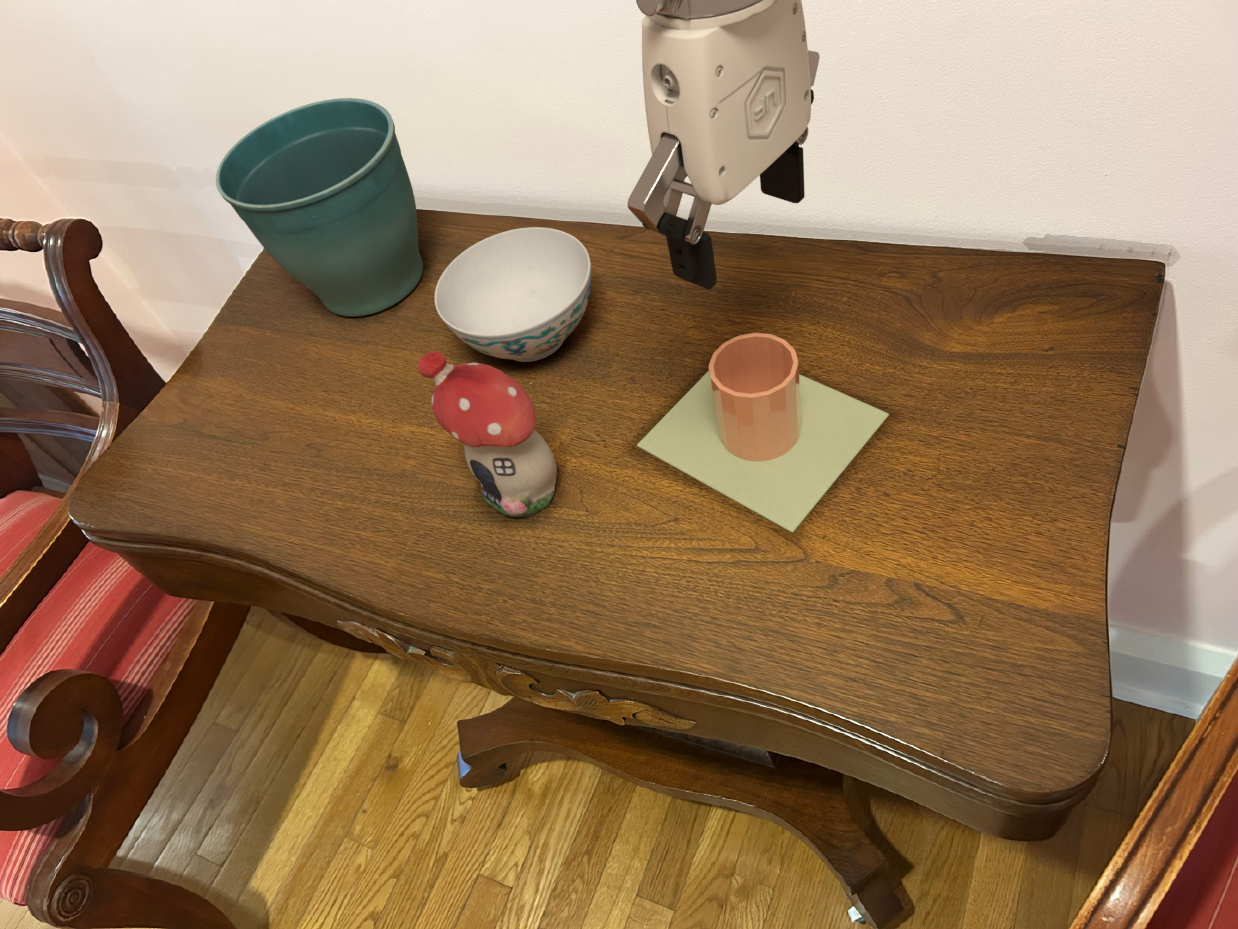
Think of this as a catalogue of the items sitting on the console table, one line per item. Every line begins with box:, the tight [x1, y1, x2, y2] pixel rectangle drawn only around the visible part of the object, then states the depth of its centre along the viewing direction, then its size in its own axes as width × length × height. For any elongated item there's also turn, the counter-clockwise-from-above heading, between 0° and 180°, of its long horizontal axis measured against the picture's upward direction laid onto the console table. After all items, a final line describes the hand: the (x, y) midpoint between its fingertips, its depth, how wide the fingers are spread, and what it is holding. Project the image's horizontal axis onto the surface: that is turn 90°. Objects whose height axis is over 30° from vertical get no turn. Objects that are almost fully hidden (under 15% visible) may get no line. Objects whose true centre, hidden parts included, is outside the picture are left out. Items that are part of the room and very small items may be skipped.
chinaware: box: [434, 226, 592, 363], centre depth 82 cm, size 15×15×8 cm
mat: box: [636, 370, 890, 534], centre depth 72 cm, size 16×14×1 cm
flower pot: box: [215, 97, 424, 318], centre depth 89 cm, size 18×18×17 cm
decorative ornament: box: [417, 350, 558, 518], centre depth 68 cm, size 9×7×15 cm
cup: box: [708, 332, 801, 461], centre depth 69 cm, size 7×7×8 cm
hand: (740, 237), depth 57 cm, fingers open, 9 cm apart
